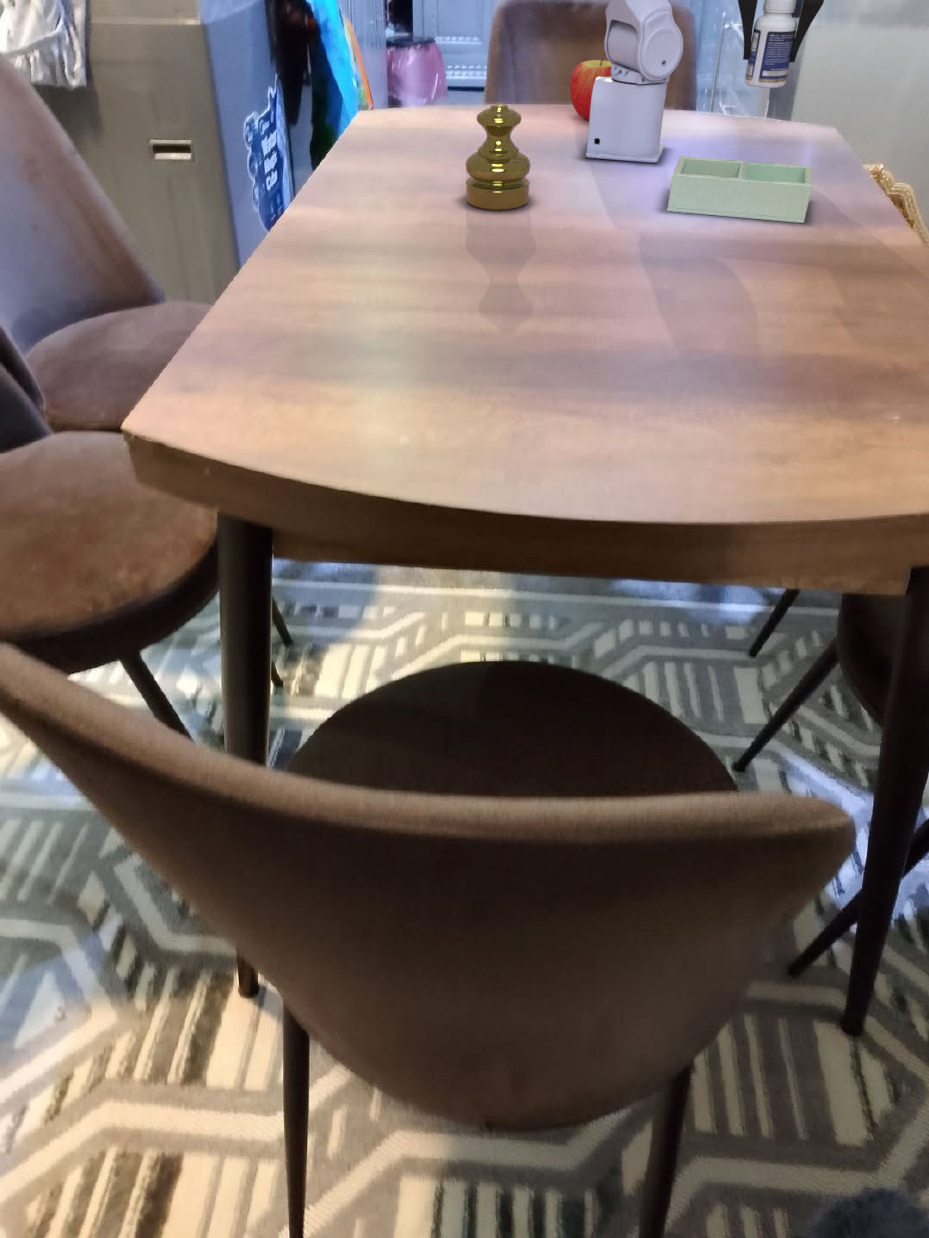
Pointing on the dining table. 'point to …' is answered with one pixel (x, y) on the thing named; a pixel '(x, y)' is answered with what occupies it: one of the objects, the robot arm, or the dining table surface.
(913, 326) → the dining table surface
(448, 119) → the dining table surface
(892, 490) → the dining table surface
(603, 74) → the apple
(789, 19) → the pill bottle
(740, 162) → the holder
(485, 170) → the salt shaker
